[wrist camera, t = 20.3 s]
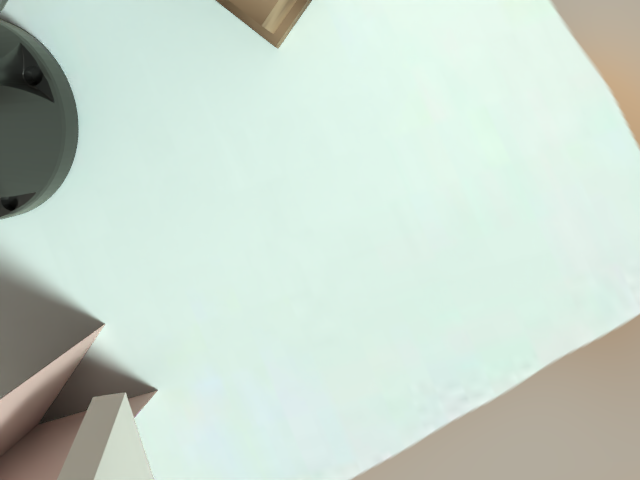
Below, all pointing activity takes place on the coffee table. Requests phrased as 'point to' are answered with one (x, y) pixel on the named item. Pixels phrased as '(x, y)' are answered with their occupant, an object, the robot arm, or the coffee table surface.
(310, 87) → the coffee table surface
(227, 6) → the walnut stand
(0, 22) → the robot arm
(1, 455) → the greeting card
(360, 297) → the coffee table surface
